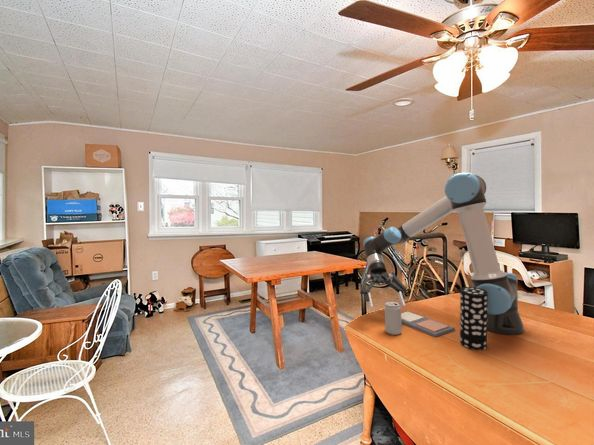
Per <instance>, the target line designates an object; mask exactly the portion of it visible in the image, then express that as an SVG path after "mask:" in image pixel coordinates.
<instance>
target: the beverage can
mask: <svg viewBox="0 0 594 445" xmlns="http://www.w3.org/2000/svg"><path fill="white" fill-rule="evenodd" d="M401 313H402V307H401V303H400V302H396V301H388V302H385V305H384V325H385V326H384V327H385V329H384V330H385V332H387V333H388V334H389V335H393V336H398V335H400V334H401V333H402V331H403V328H402V325H403V324H402V323H401Z"/></svg>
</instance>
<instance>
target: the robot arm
mask: <svg viewBox="0 0 594 445" xmlns="http://www.w3.org/2000/svg"><path fill="white" fill-rule="evenodd" d="M486 191H487V184H486V182H485V179H483V178H482V177H480V176H479V175H477V174H474V173H471V172H466V171H465V172H459V173H458V172H457V173H456V174H453V175H452V176H451V177H450V178H448V179H447V181H446V182H445V185H444V193H445V196H443V197H442V198H440V199H439V200H437V201H436V202H435V203H433V204H431V205H430V206H428V207H427V208H425V209H423V211H421V212H420V213H418V214H417V215H415V216H413V217H412V218H411V219H409V220H408V221H406V222H404V223H403V224H402V225H400V226H399V227H395V226H390V227H389V228H386V229H385V230H384V231H382V232H381V233H380V234H378V235H377V236H369V237H366V238H365V239H363V250H364V254H365V258H366V261H367V265H368V270H369V274H368V273H364V275H363V276H364V277H363V282H362V285H361V289H360V292H359V294H360V295H363V296H364V298H365V302H368V305H369V310H373V308H374V304H373V300H372V295H371V292H370V291H371V290H372V288H373V287H374V286H375V284H376V285H379V284H380V285H381V284H386V286H389V287H390V288H392V289H393V290H394V291H395V292H397V297H398V300H399V304H400V307H401V309H404V308H405V306H406V303H405V299H406V296H405V293H406V292H407V290H408V289H407V287H406V286H405V285H404V284H403V283H402V282H401V281H400V280H399V278H398V277H397V276H396V274H395V272H391V273H388V272H387V267H386V265H385V261H384V258H383V257H384V256H383V254H382V252H384V251H386V250H387V249H389V248H390V247H393V246H396V245H401V244H405V243H406V242H407V243H408V241H409V240H410V239H411V238H413V237H415V236H416V235H418V234H419V233H422V232H423V231H425V229H427V228H429V227H431V226H432V225H433V224H435V223H437V222H439V221H440V220H442V219H443V218H446V217H447V216H448V215H450V214H451V213H453V212H455V213H457V214H458V217H459V221H460V226H461V229H462V234H463V237H464V240H465V244H466V246H467V251H468V255H469V259H470V263H471V266H472V270H473V274H472V275H471V276H470V280H471V284H472V287H475V288H480V289H483V290H486V291H487V292H488V303H487V331H490V332H493V333H496V334H502V335H520V334H523V333H524V330H525V329H524V328H525V325H524V323H523V321H522V318H521V315H520V312H519V305H518V304H519V302H518V298H519V297H518V296H519V294H518V283H519V281H518V276H517V274H516V273H512V272H504V271H503V270H502V269H501V267H500V264H499V260H498V257H497V252H496V250H495V246H494V242H493V238H492V235H491V231H490V228H489V224H488V221H487V217H486V213H485V209H484V207H485V206H486V205H487V203H488V202H487V198H486V196H485V194H486ZM369 279H371V282H370V283H369V285H367V282H368V280H369ZM366 285H367V288H366ZM365 288H366V289H365Z"/></svg>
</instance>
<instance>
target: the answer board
mask: <svg viewBox="0 0 594 445" xmlns="http://www.w3.org/2000/svg"><path fill="white" fill-rule="evenodd" d="M401 325H404V326H407V327H409V328H410V329H411V328H412V329H415V330H417V331H420V332H421V333H424V334H426V335H428V336H431V337H433V338H438V337H440V336H443V335H446V334H449V333H453V332H455V331H456V330H455V329H456V328H455V327H454V326H452V325H450V324H445V323H444V322H441V321H438V320H435V319H431V318H429V317H426V316H423V315H420V314H417V313H414V312H411V311H409V310H406V311H401Z"/></svg>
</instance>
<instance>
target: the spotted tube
mask: <svg viewBox="0 0 594 445" xmlns="http://www.w3.org/2000/svg"><path fill="white" fill-rule="evenodd" d="M459 290H460V292H459V294H460V295H459V296H460V297H459V299H460V302H459V305H460V306H459V308H460V309H459V316H460V317H459V324H460V325H459V331H460V332H459V335H460V336H459V343H460V344H461V345H462V346H464V347H465V348H467V349H470V350H476V351H483V350H486V349H487V347H488V330H487V303H488V292H487V291H486V290H483V289H480V288H475V287H473V286H465V287H461V288H460V289H459Z"/></svg>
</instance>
